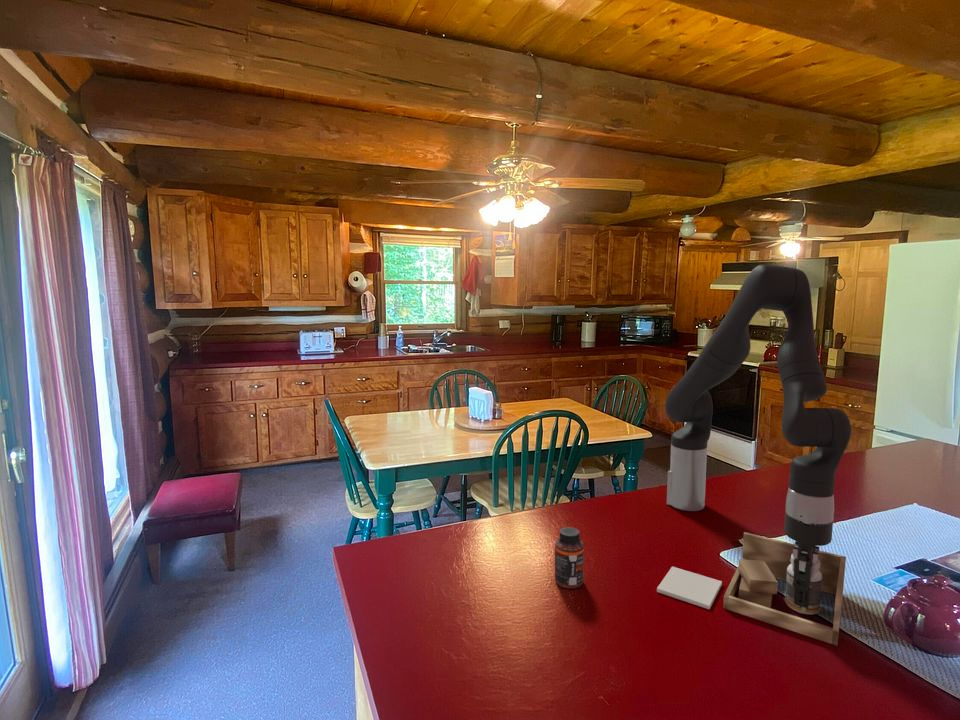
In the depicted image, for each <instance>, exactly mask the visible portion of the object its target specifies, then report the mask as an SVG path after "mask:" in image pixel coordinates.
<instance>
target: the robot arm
mask: <svg viewBox="0 0 960 720" xmlns="http://www.w3.org/2000/svg"><path fill="white" fill-rule="evenodd" d="M812 301H813V300H812V293H811V285H810V282H809V279H808V276H807V274H806V273H805V272H804V271H803V270H801V269H798V268H796V267H791V266H790V267H788V266H783V265H774V264H768V263H767V264H759V265H757V266H755V267H754V268H752V270H751V271H750V272H749V273H748V275H747V276H746V277H745V279H744V280H743V283H742V284H741V286H740V288H739V290H738V292H737V294H736V296H735V298H734V300H733V302H732V304H731V305H730V307H729V308H728V311H727V313H726V314H725V316H724V317H723V319H722V321H721V322H720V324H719V325H718V326H717V328H716V330H715V331H714V333H713V334H712V335H711V336H710V338H709V339H708V340H707V342H706V344H705V345H704V346H703V348H702V350H701V351H700V353H699V355H697V358H696V359H695V360H694V361H693V363H692V364H691V366H690V367H689V369H688V370H687V371H686V373H685V374H684V375H683V376H682V377H681V378H680V380H679V381H677V383H676V384H675V385H674V386H673V387H672V388H671V390H670V391H669V393H668V395H667V396H666V398H665V399H666V400H665V405H664V409H665V414H666V416H667V418H669V419H670V420H672V421H673V422H676V423H685V424H684V425H683V426H682V427H681V428H680V429H678V430H675V431H674V432H673V433H672V434H671V438H670V462H669V463H670V464H669V465H670V466H669V467H670V468H669V469H668V471H667V485H666V486H667V487H666V505H668V506H671V507H672V508H675V509H678V510H681V511H684V512H685V511H686V512H698V511H701V510H704V508H705V502H706V483H707V482H706V481H707V478H706V477H707V462H708V461H707V460H708V459H707V455H708V441H709V440H710V437H711V432H712V431H711V430H712V421H713V412H714V410H713V409H714V404H713V398H712V395H711V394H710V391H709V390H710V389H712V388H714V387H716V386H718V385H719V384H721V383H723V382H724V381H726V380H728V379H729V378H731V377H732V376H733V375H734V374H735V373H736V372H737V371H738V370H739V369H740V367H741V365H743V363H744V362H745V361H746V359H747V358H748V356H750V355H749V354H750V353H751V346H752V345H751V338H750V337H751V335H750V330H749V327H750V326H749V325H750V323H751V321H752V319H753V318H754V316H755V315H756V313H757V312H759V311H760V310H762V309H763V310H770V311H780V312H782V313H783V314H784V316H785V319H786V322H787V331H786V334H785V336H784V338H783V339H782V340H783V341H782V342H781V343H780V344H781V345H780V347H779V349H778V353H777V357H776V360H777V361H776V363H777V370H778V373H779V377H780V382H781V386H782V391H783V403H782V404H783V407H782V415H781V417H782V418H781V433H782V435H783V436H784V438H785V440H786V441H787V442H788V443H789V444H791V445H792V446H795V447H804V448H807V447H809V448H810V447H811V448H815V447H816V448H815V450H813V451H812V452H811V453H808V454H804V455H799V456H796V457H794V458H792V460H791V462H790V466H789V476H788V478H789V479H788V489H787V494H786V500H785V511H784V512H785V514H784V528H783V529H784V534H785V535H786V536H787V537H788V538H789V539H790V540H792V541H794V544H795V547H793V556H794V561H793V572H794V580H793V584H792V585H793V587H794V588H795V594H794V604H795V605H798V606H801V607H804V608H807V607H808V601H809V590H810V588H811V586H810V583H811V577H814V575H815V566H816V562H817V561H818V556H819V550H820V551H821V549H820V547H823V546H828V545H829V544H831V543H832V540H833V529H834V527H833V526H834V515H835V498H834V496H835V494H834V493H835V482H836V473H837V470H838V467H839V465H840V462H841V460H842V458H843V456H844V453H845V451H846V449H847V447H848V445H849V442H850V439H851V434H852V423H851V420H850V419H849V417H848V415H847V414H846V413H845V412H844V411H843V410H841V409H839V408H836V407H835V408H834V407H805V404H804V403H809V402H812V401H816V400H818V399H821V398H822V397H824V396H825V395H826V393H827V391H828V386H827V382H826V379H825V375H824V370H823V369H822V364H821V361H820V357H819V355H818V351H817V344H816V339H815V331H814V330H815V328H814V315H813V314H814V311H813V302H812ZM811 567H812V570H811ZM798 578H799V579H803V580H805V581H806V582H804V581H800V580H798Z"/></svg>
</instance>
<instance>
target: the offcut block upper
mask: <svg viewBox="0 0 960 720" xmlns="http://www.w3.org/2000/svg"><path fill="white" fill-rule="evenodd" d="M738 565H739V566H737V568H738V571H739V573H740V574H741V576H742V578H743V580H744V582H745V584H746V586H747V588H748V590H749V591H750V592H760V593H771V594H773V595H778V584H779V583H778V581H777V578H775V577H774V575H773V574H772V572H771V571H770V569H769V568H768V566H767V565H766V563H765V561H757V560H745V559H742V558H738Z"/></svg>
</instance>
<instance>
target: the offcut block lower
mask: <svg viewBox="0 0 960 720" xmlns="http://www.w3.org/2000/svg"><path fill="white" fill-rule="evenodd" d="M738 587H739V589H738V598H739V599H742V600H746V601H749V602H752V603H755V604H758V605H761V606H765V607H768V608H771V609H772V601H773V595H774V594H771V593H760V592H750V591H749V590H748V588H747V586H746V584H745V582H744V580H743V578H742V579H741V581H740V583H739V586H738Z"/></svg>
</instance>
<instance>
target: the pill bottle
mask: <svg viewBox="0 0 960 720" xmlns="http://www.w3.org/2000/svg"><path fill="white" fill-rule="evenodd" d="M793 561H794V556H793V554H792V555H791V563H792V564H790V565H789V566H788V568H787V579H786V581H785V582H786V583H785V597H784V598H785V601H784V602H785V604H786V605H787V607H789V608H790V609H791V610H792V611H795V612H797V613H799V614H803V615H810V616H811V615H816V614H818V613H819V612H820V611H821V603H822V601H821V600H822V592H823V591H822V574H821V572H820V571H819V568H820V560H819V559H818V561H817V562H816V566H815V575H814V577H811V583H810V586H811V588H810V590H809V601H808V607H807V608H804V607H801V606H798V605H795V604H794V594H795V588H794V587H793V585H792V584H793V580H794V572H793ZM811 570H812V567H811ZM798 580H800V581H804V582H806V581H805V580H803V579H799V578H798Z"/></svg>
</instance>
